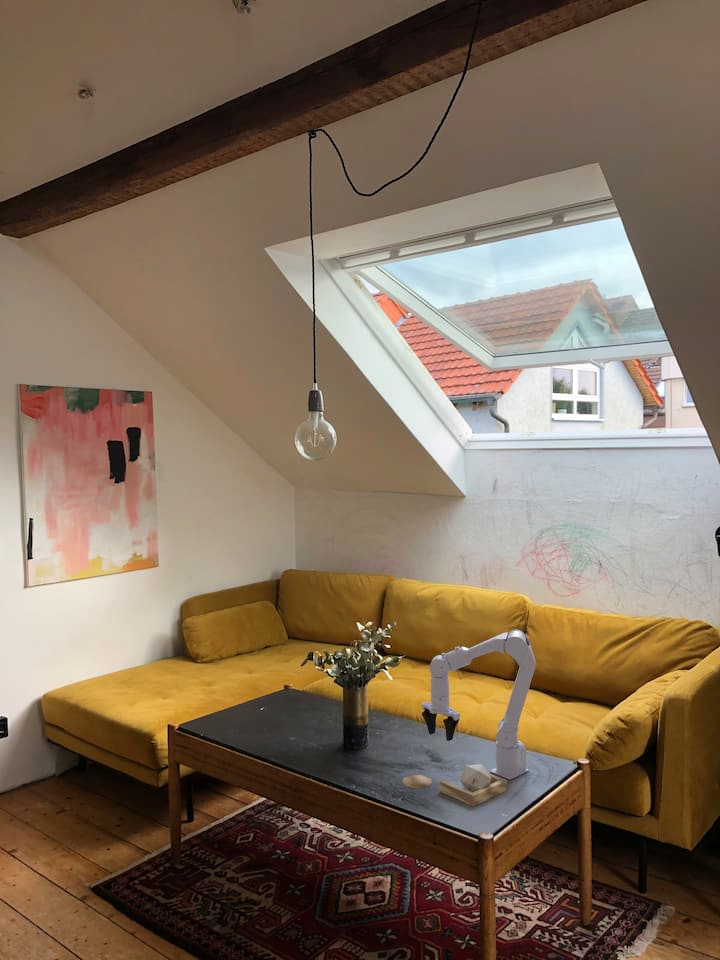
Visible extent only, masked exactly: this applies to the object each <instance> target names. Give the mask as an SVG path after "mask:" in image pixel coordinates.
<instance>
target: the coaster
mask: <svg viewBox="0 0 720 960" xmlns="http://www.w3.org/2000/svg"><path fill="white" fill-rule="evenodd" d="M401 783H402V785H404V786H405V787H407V788H410V789H411V788H412V789H424V788H425V789H426V788H427V787H430V786H431V785H432V783H433V782H432V779H431V778H430V777H428V776H425V775H422V774H421V775H419V774H413V775H408V776H405V777H404V778H402V781H401Z"/></svg>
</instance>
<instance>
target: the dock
mask: <svg viewBox="0 0 720 960" xmlns="http://www.w3.org/2000/svg"><path fill="white" fill-rule="evenodd" d="M488 774H489V776H490V777H491V781H490V784H489V785H488V786H486V787H484V788H482V789H480V790H478V791H475V792H470V791H468V790H465V788H464V787H461V786H459V785H458V786H457V785H456V784H453V783H451V782H448V781H446V780H443V779H442V780H441V781H439V792H440V793H442V794H444V795H447V796H449V797H451V798H454V799H456V800H458V801H461V802H462V803H465V804H467V805H469V806H472V807H475V806H477V805H480V804H482V803H483V802H486V801H488V800H490V799H491V798H495V797H496V796H498V795H500V794H502V793H504V792H506V791H508V779H506V778H504V777H503V778H502V777H501V776H498V775H496V774H493V773H491V772H490V773H489V772H488Z"/></svg>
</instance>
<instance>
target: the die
mask: <svg viewBox="0 0 720 960" xmlns="http://www.w3.org/2000/svg"><path fill="white" fill-rule="evenodd" d="M486 769H487V768H485V765H483V763H481V764H479V763H477V764H467V765H465V767H464V769H463V771H462V773H461V776H460V779H459V782H460V783H461V784H462V786H463V789H465V790H468V791H470V792H475V791H478V790H480V789H482V788H484V787H486V786H488V785H489V784H490V781H491V777H490V776H489V774H488V773H489V772H488V771H487V770H486Z"/></svg>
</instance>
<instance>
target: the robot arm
mask: <svg viewBox="0 0 720 960" xmlns="http://www.w3.org/2000/svg"><path fill="white" fill-rule="evenodd" d="M531 645H532V643H531V642H530V639H529V637H527V635H526V634H525V632H523V630H519V629H512V630H511V631H509V632H502V633H500V634H498V635H496V636H494V637H492V638H489V639H487V640H484V641H482V642H480V643H477V644H476V645H473V646H472V647H469V648H468V647H466V646H461V647H460V646H459V645H458V646H455V648H454V650H451V651H449V652H442V653H441V654H439V655H438V654H437V655H436V656H434V657H433V658H432V660H431V662H430V664H429V672H430V678H431V679H430V702H427V701H426V702H425V701H424V702H422V703H421V710H423V711H422V712H421V716H422V718H423V719H424V720H423V721H425V724H426V727H427V731H428V734H429V736H430V735H433V734H436V726H437V725H436V722H437V716H438V715H439V716H440V715H442V716H443V717H446V718H444V719H442V721H443V725H444V728H445V738H446V741H447V742H450V741H453V739H454V736H455V732H456V728H457V726H458V724H459V722H460V721H461V719H460V718H461V715H460V712H458V711H456V710H454V709H453V708H451V707H450V680H449V672H453V671H456V670H458V669H461V668H463V667H466V666H468V665H471V663H472V660H473V659H476V658H478V657H481V656H483V655H486V654H490V653H493V652H495V651H496V652H498V653H501V654H505V652H506V653H507V654H508V655H509V656H510V657H512V658H513V659H514V660H515V661H516V664H517V665H518V666H519V668H518V671H517V675H516V678H515V680H514V684H513V687H512V691H511V693H510V697H509V701H508V704H507V707H506V710H505V713H504V714H503V715H504V716H503V718H502V719H501V720H500V721H499V722H498V724H497V733H496V735H495V736H496V737H495V739H496V741H495V768H493V769H490V771H489V772H490V773H491V774H493V775H496V776H498V777H501V778H502V777H503V778H504V779H506V780H513V779H514V778H517V777H518V776H521V775H523V774H525V773H527V772H529V771H530V770H529V768H527V748H526V746H525V744H524V743H523V742H522V741H520V740H518V733H519V723H520V719H521V716H522V714H523V713H522V712H523V709H524V705H525V703H526V698H527V696H528V694H529V689H530V686H531V682H532V679H533V676H534V673H535V670H536V666H537V661H536V658H535V655H534V652H533V648H532V646H531Z"/></svg>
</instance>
